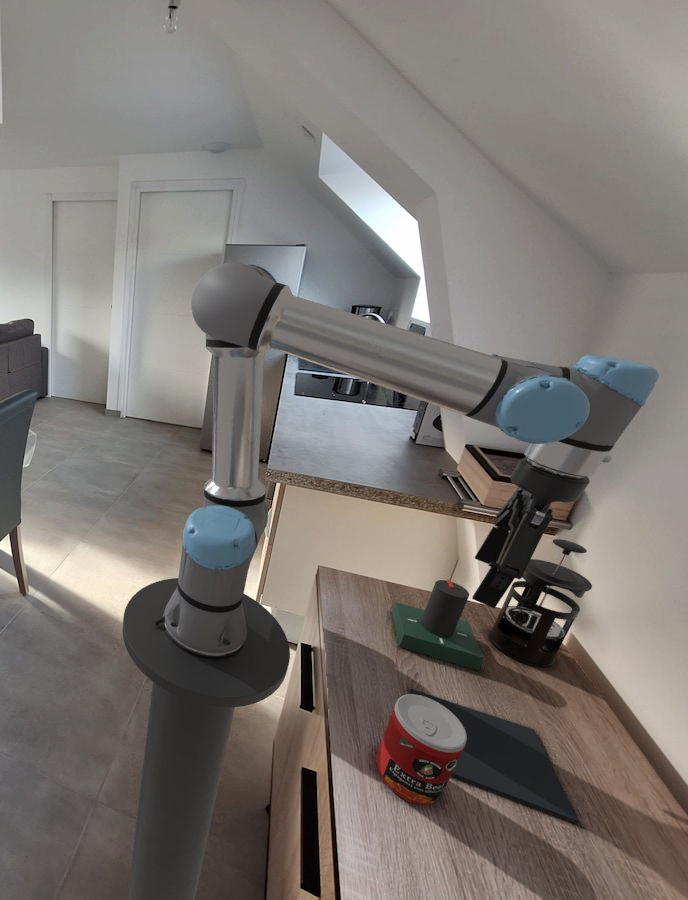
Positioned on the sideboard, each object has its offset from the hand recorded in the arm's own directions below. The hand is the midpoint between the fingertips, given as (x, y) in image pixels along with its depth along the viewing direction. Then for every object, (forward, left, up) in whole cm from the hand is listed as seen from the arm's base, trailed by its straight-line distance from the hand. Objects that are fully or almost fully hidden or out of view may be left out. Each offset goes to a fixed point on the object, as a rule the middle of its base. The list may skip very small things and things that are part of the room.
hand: (483, 580), depth 74 cm
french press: (+14, +13, -19) cm, 27 cm away
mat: (+1, -16, -19) cm, 25 cm away
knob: (-1, +7, -16) cm, 17 cm away
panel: (-1, +7, -19) cm, 20 cm away
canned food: (-10, -26, -19) cm, 34 cm away
